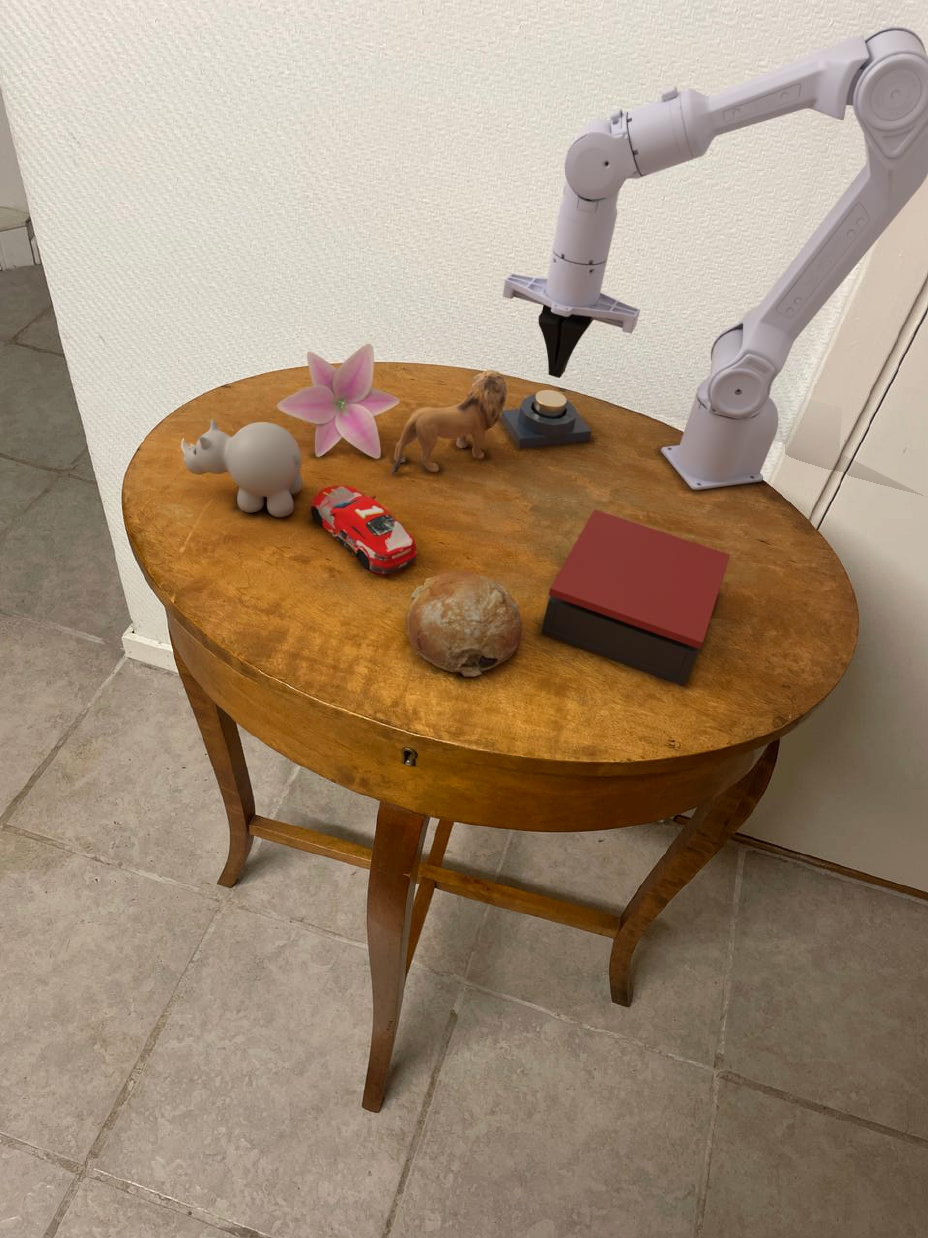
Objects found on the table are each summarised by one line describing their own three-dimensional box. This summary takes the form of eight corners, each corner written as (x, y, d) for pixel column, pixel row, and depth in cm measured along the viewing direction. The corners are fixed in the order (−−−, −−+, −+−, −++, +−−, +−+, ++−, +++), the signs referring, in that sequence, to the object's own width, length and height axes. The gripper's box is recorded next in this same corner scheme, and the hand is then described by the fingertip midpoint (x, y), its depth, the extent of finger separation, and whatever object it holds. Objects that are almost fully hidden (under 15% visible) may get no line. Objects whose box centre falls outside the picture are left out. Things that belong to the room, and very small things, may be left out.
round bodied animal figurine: (200, 464, 96) (192, 393, 90) (311, 485, 96) (310, 415, 90) (173, 504, 91) (162, 432, 85) (290, 527, 90) (287, 456, 84)
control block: (567, 412, 111) (572, 390, 109) (590, 442, 107) (595, 420, 105) (499, 419, 109) (502, 396, 107) (519, 450, 104) (523, 427, 102)
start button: (556, 401, 108) (559, 388, 107) (568, 418, 105) (571, 405, 104) (528, 404, 107) (530, 391, 105) (540, 421, 104) (542, 407, 103)
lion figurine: (479, 426, 107) (489, 357, 101) (510, 449, 104) (521, 379, 98) (377, 465, 99) (381, 392, 93) (407, 490, 97) (413, 417, 90)
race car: (301, 511, 92) (300, 479, 90) (346, 494, 95) (347, 462, 92) (377, 586, 86) (379, 553, 83) (423, 565, 89) (426, 533, 86)
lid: (700, 649, 77) (702, 642, 76) (548, 595, 80) (550, 587, 79) (727, 561, 87) (730, 554, 87) (592, 515, 90) (594, 509, 89)
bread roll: (422, 703, 81) (447, 675, 74) (382, 599, 83) (402, 563, 76) (518, 671, 85) (551, 642, 78) (477, 573, 87) (505, 537, 80)
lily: (263, 446, 101) (272, 403, 93) (305, 365, 106) (318, 316, 97) (362, 493, 103) (380, 456, 94) (400, 411, 108) (420, 368, 99)
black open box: (684, 686, 81) (697, 653, 78) (540, 633, 84) (548, 599, 81) (713, 594, 90) (727, 561, 87) (583, 549, 93) (592, 515, 90)
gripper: (500, 247, 92) (483, 369, 101) (638, 286, 89) (608, 407, 98) (523, 225, 97) (506, 343, 106) (655, 260, 94) (625, 378, 103)
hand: (556, 372), depth 103 cm, fingers closed
